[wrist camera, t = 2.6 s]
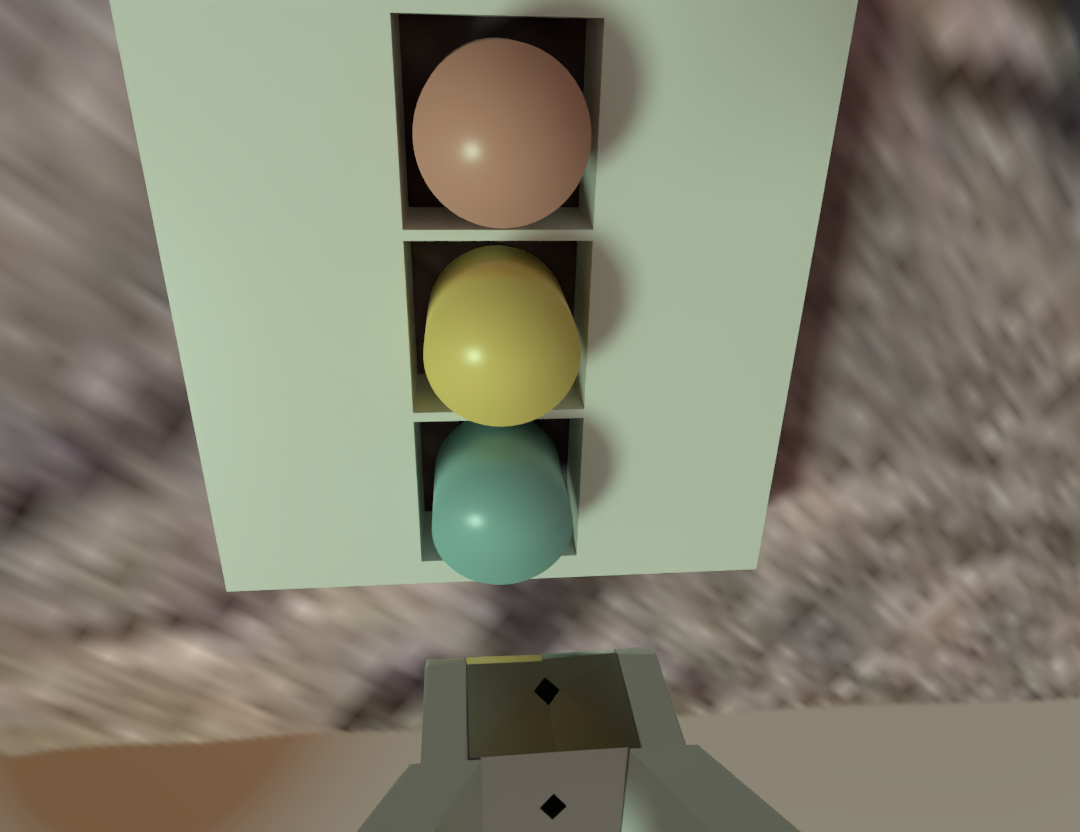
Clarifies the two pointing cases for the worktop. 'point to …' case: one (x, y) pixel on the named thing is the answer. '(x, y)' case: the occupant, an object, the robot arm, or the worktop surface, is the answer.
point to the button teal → (500, 502)
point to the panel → (390, 225)
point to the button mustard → (500, 337)
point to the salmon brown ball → (501, 133)
